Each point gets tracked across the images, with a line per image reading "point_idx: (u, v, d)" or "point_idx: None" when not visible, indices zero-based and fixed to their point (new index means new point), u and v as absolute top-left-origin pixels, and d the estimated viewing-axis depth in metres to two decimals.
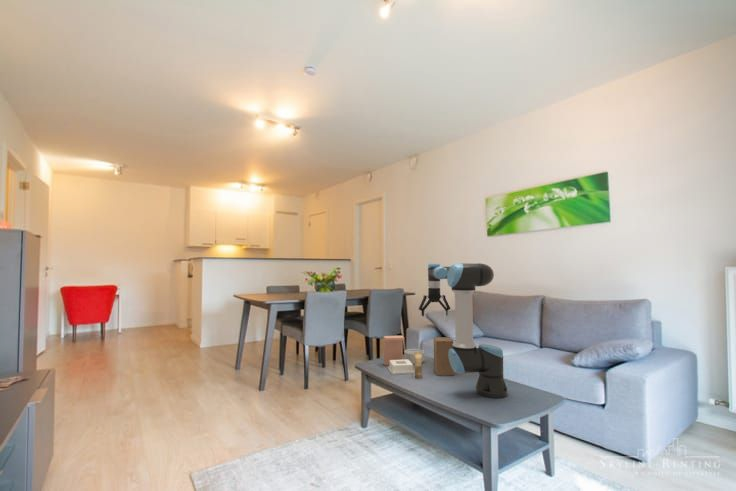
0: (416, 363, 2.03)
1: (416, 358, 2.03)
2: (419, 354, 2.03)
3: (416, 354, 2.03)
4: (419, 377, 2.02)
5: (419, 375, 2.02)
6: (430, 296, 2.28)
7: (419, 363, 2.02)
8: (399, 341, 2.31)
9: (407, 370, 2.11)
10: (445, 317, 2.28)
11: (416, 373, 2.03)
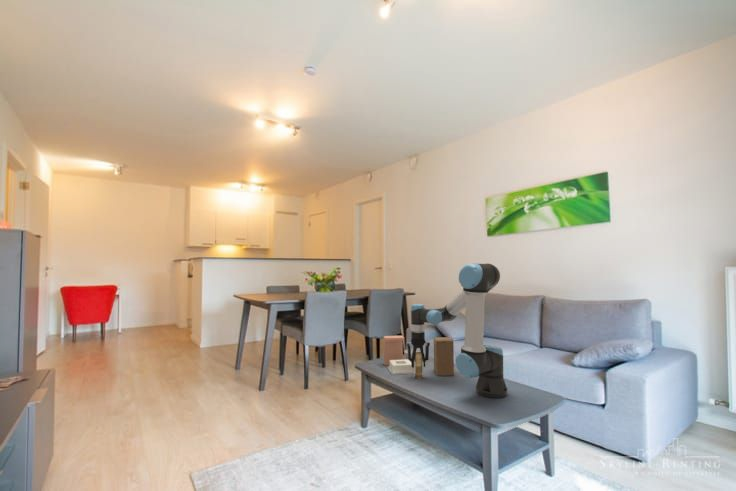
0: (416, 363, 2.03)
1: (416, 358, 2.03)
2: (419, 354, 2.03)
3: (416, 354, 2.03)
4: (419, 377, 2.02)
5: (419, 375, 2.02)
6: (413, 341, 2.03)
7: (419, 363, 2.02)
8: (399, 341, 2.31)
9: (407, 370, 2.11)
10: (422, 369, 2.03)
11: (416, 373, 2.03)
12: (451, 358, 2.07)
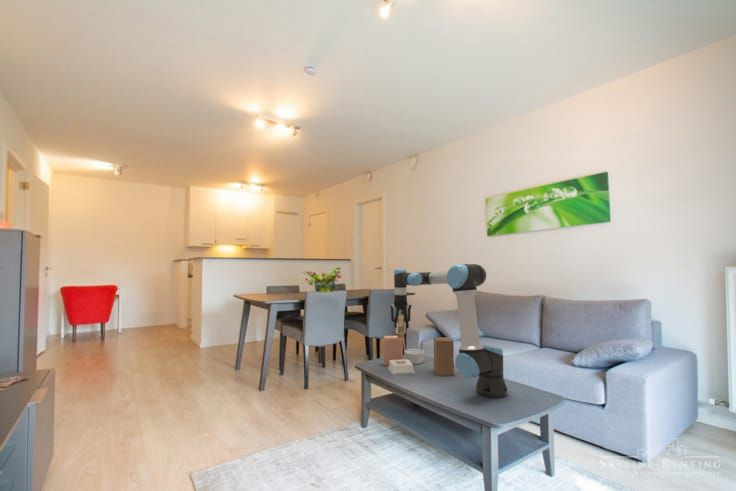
0: (398, 323, 2.17)
1: (398, 319, 2.17)
2: (401, 315, 2.17)
3: (398, 315, 2.17)
4: (401, 336, 2.16)
5: (401, 335, 2.16)
6: (396, 303, 2.17)
7: (401, 323, 2.16)
8: (399, 341, 2.31)
9: (407, 370, 2.11)
10: (404, 329, 2.17)
11: (398, 333, 2.17)
12: (451, 358, 2.07)
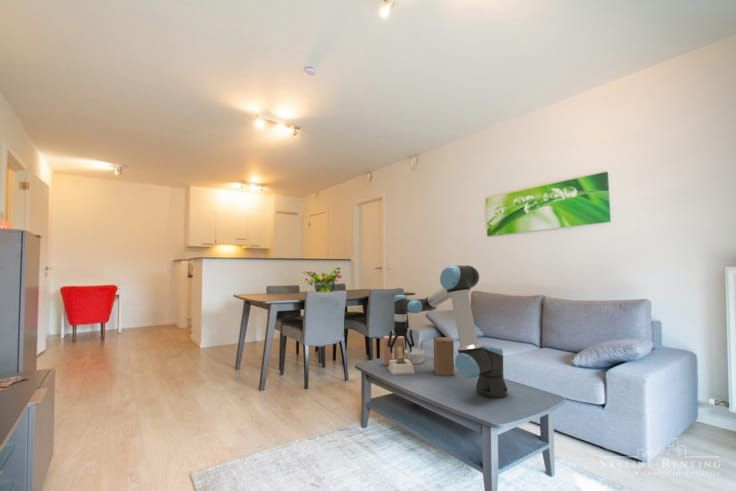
0: (398, 355, 2.16)
1: (398, 350, 2.16)
2: (400, 347, 2.16)
3: (397, 347, 2.16)
4: None
5: None
6: (396, 330, 2.17)
7: (401, 355, 2.15)
8: (399, 341, 2.31)
9: (407, 370, 2.11)
10: (409, 354, 2.17)
11: None
12: (451, 358, 2.07)
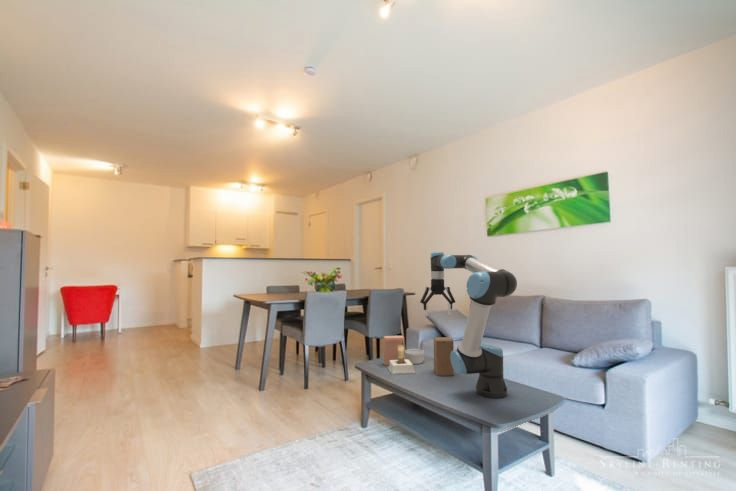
0: (399, 355, 2.16)
1: (399, 351, 2.16)
2: (401, 347, 2.16)
3: (399, 347, 2.16)
4: None
5: None
6: (433, 288, 2.06)
7: (401, 355, 2.15)
8: (399, 341, 2.31)
9: (407, 370, 2.11)
10: (449, 311, 2.07)
11: None
12: None
